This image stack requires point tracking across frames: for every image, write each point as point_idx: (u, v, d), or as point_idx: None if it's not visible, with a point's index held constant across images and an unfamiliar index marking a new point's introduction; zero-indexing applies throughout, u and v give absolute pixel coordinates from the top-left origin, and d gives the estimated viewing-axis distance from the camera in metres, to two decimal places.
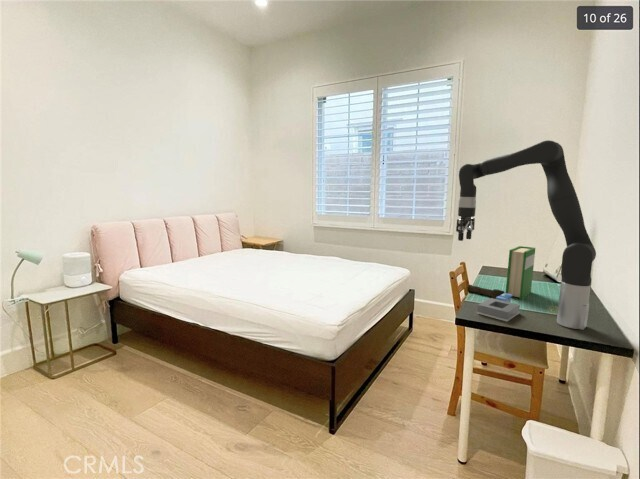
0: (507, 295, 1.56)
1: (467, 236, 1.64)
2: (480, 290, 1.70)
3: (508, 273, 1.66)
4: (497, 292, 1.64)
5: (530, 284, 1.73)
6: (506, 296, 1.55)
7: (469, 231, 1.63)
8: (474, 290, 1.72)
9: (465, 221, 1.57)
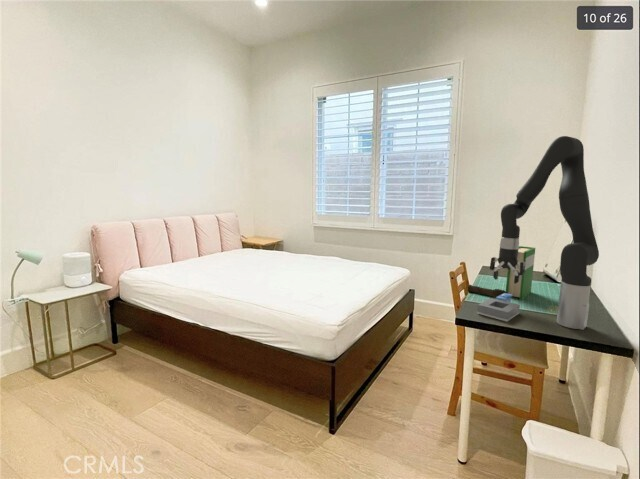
0: (507, 295, 1.56)
1: (496, 276, 1.57)
2: (481, 290, 1.70)
3: (508, 273, 1.66)
4: (498, 292, 1.64)
5: (530, 284, 1.73)
6: (506, 296, 1.55)
7: (497, 271, 1.57)
8: (475, 290, 1.72)
9: None
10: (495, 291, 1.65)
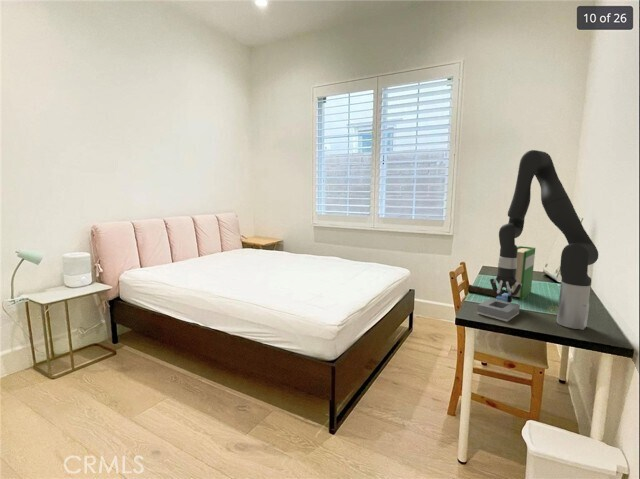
0: (507, 295, 1.56)
1: None
2: (481, 290, 1.70)
3: None
4: None
5: (530, 284, 1.73)
6: (506, 296, 1.55)
7: (500, 293, 1.57)
8: (475, 290, 1.72)
9: None
10: None
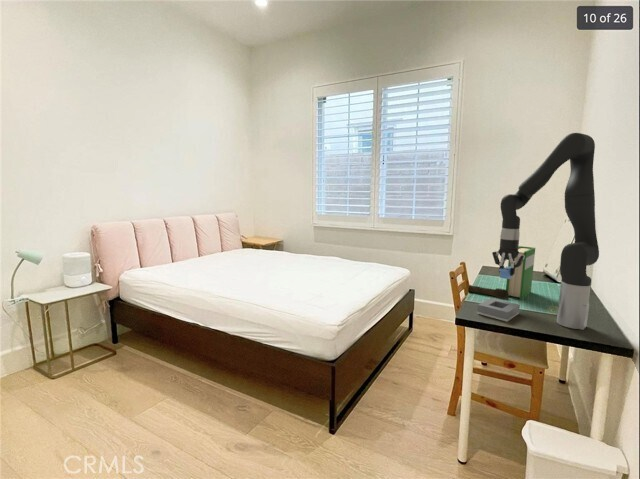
0: (510, 268, 1.54)
1: None
2: (482, 290, 1.70)
3: None
4: (500, 291, 1.65)
5: (530, 284, 1.73)
6: (509, 268, 1.53)
7: (503, 265, 1.55)
8: (475, 290, 1.72)
9: None
10: (496, 291, 1.66)
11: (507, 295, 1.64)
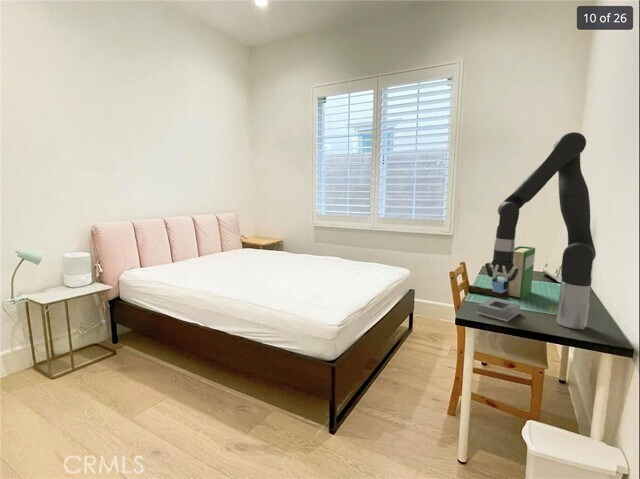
0: None
1: None
2: (482, 290, 1.70)
3: None
4: None
5: (530, 284, 1.73)
6: (502, 282, 1.42)
7: (496, 278, 1.44)
8: (475, 290, 1.72)
9: None
10: None
11: (507, 295, 1.64)
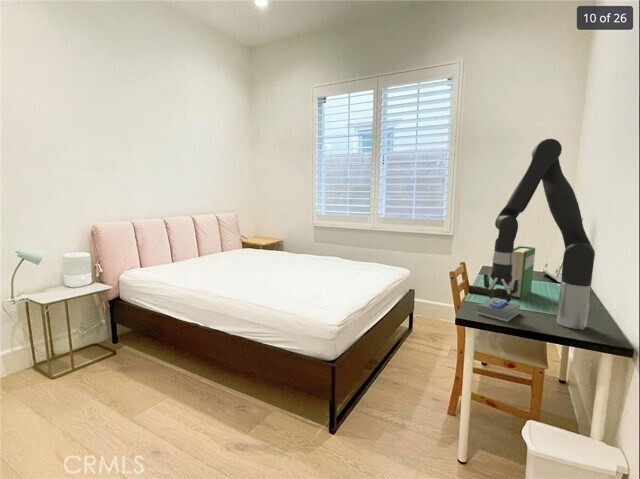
0: (502, 302, 1.44)
1: (491, 295, 1.45)
2: (482, 290, 1.70)
3: None
4: (500, 291, 1.66)
5: (530, 284, 1.73)
6: (501, 303, 1.42)
7: (492, 289, 1.45)
8: (476, 290, 1.72)
9: None
10: (497, 290, 1.67)
11: None
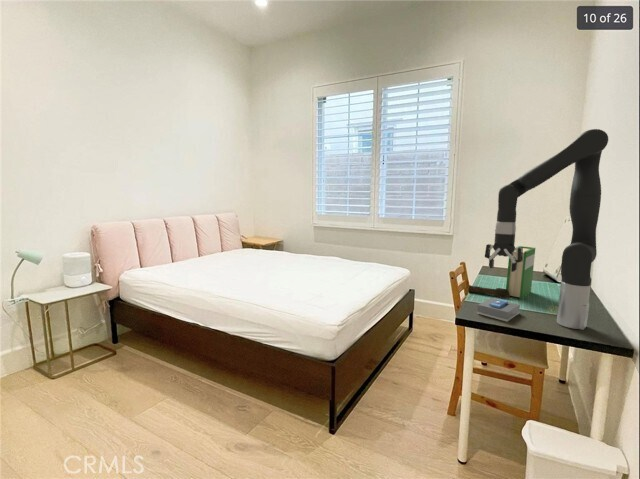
0: (502, 302, 1.44)
1: (492, 265, 1.45)
2: (482, 290, 1.70)
3: (508, 273, 1.66)
4: (501, 291, 1.66)
5: (530, 284, 1.73)
6: (501, 303, 1.42)
7: None
8: (476, 290, 1.72)
9: None
10: (497, 290, 1.67)
11: (507, 295, 1.65)
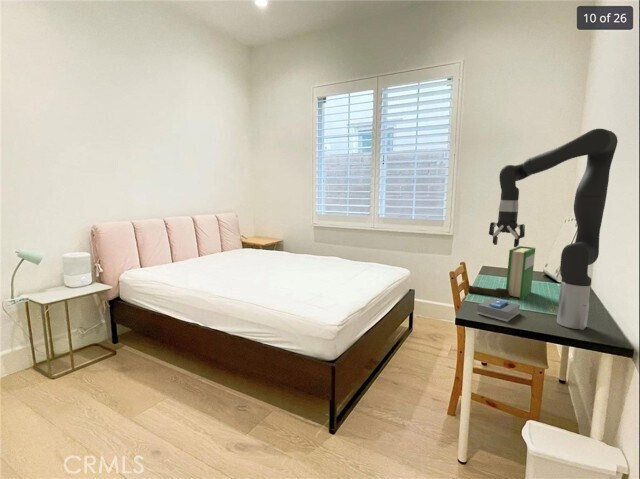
0: (502, 302, 1.44)
1: (496, 242, 1.54)
2: (483, 290, 1.70)
3: (508, 273, 1.66)
4: (501, 291, 1.66)
5: (530, 284, 1.73)
6: (501, 303, 1.42)
7: (496, 236, 1.54)
8: (476, 291, 1.72)
9: None
10: (497, 290, 1.67)
11: (508, 295, 1.65)
